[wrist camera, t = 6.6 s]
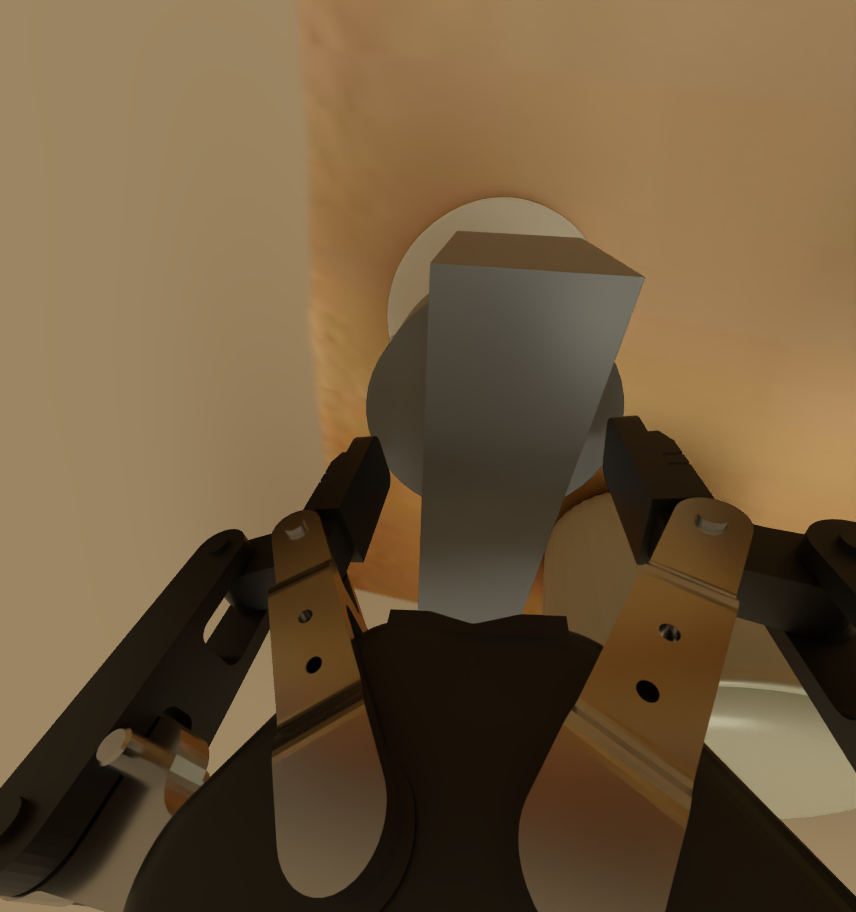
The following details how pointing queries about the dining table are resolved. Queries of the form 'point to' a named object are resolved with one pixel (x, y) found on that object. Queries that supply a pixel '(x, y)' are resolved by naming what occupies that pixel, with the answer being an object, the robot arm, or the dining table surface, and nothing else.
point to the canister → (742, 680)
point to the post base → (468, 217)
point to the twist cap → (500, 406)
